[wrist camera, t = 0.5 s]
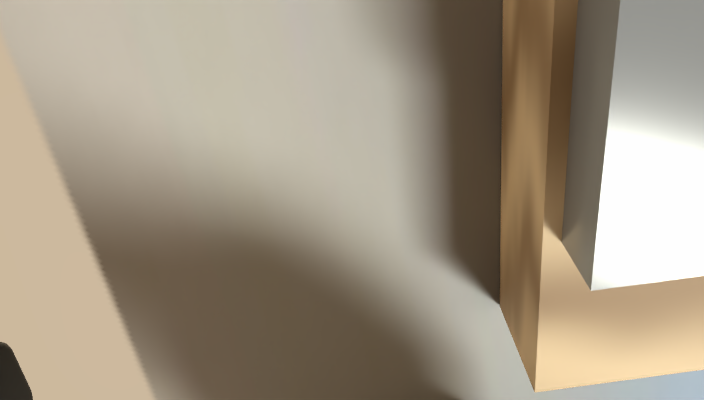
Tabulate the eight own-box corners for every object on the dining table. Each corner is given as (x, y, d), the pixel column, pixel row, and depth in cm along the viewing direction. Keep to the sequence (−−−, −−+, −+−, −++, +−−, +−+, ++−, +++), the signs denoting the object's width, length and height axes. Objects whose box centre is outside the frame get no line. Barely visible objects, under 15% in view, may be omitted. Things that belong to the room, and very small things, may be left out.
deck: (723, 275, 24) (796, 357, 20) (499, 306, 24) (534, 392, 20) (907, -520, 13) (1121, -629, 10) (507, -470, 13) (583, -562, 10)
